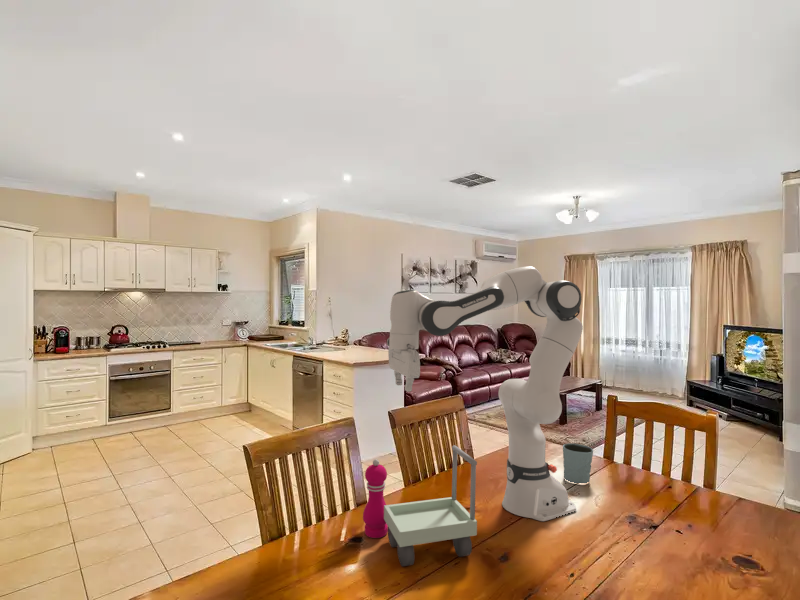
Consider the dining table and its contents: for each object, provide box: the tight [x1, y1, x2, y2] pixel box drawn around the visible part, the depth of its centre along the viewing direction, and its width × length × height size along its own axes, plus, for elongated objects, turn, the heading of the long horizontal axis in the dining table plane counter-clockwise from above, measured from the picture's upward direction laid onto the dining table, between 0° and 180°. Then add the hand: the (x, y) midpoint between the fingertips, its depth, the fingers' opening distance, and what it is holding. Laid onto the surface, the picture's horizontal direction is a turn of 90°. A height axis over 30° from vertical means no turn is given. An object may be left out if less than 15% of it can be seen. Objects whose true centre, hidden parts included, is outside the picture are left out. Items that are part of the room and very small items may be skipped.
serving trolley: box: [384, 444, 478, 567], centre depth 114 cm, size 20×14×24 cm
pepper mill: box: [362, 458, 388, 539], centre depth 122 cm, size 7×7×20 cm
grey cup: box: [562, 442, 594, 483], centre depth 160 cm, size 10×10×12 cm
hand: (403, 388), depth 136 cm, fingers open, 8 cm apart
